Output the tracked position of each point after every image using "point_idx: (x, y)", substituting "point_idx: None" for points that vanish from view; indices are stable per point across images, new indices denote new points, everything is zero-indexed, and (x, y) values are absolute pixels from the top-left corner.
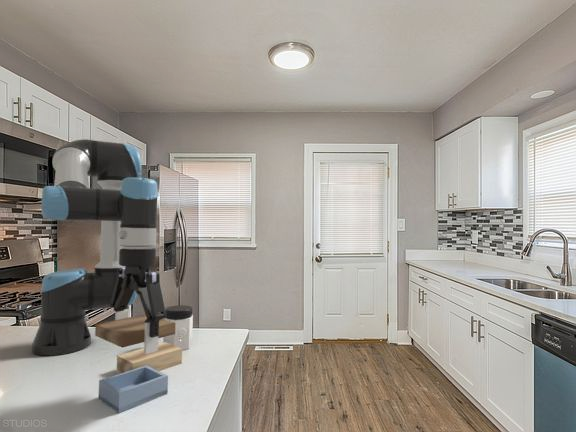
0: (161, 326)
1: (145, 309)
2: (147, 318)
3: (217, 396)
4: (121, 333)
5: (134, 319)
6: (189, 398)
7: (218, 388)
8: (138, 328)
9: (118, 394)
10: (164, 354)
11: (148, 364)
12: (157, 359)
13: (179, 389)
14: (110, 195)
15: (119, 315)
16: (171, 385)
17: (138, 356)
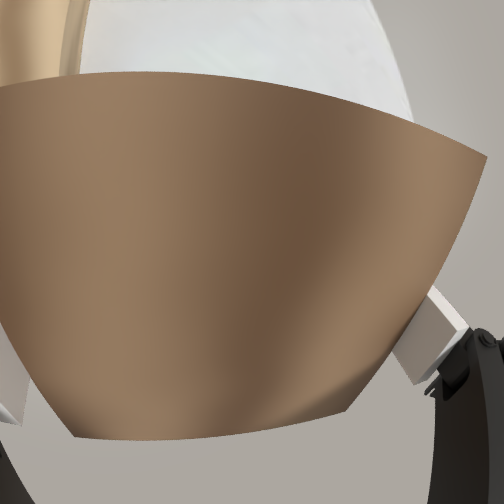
0: (442, 262)
1: (446, 439)
2: (438, 392)
3: (388, 44)
4: (327, 414)
5: (89, 311)
6: (337, 80)
7: (365, 4)
8: (348, 365)
9: None
10: None
11: (70, 42)
12: (74, 2)
13: (273, 49)
14: None
15: (18, 391)
16: (227, 41)
17: (11, 64)
